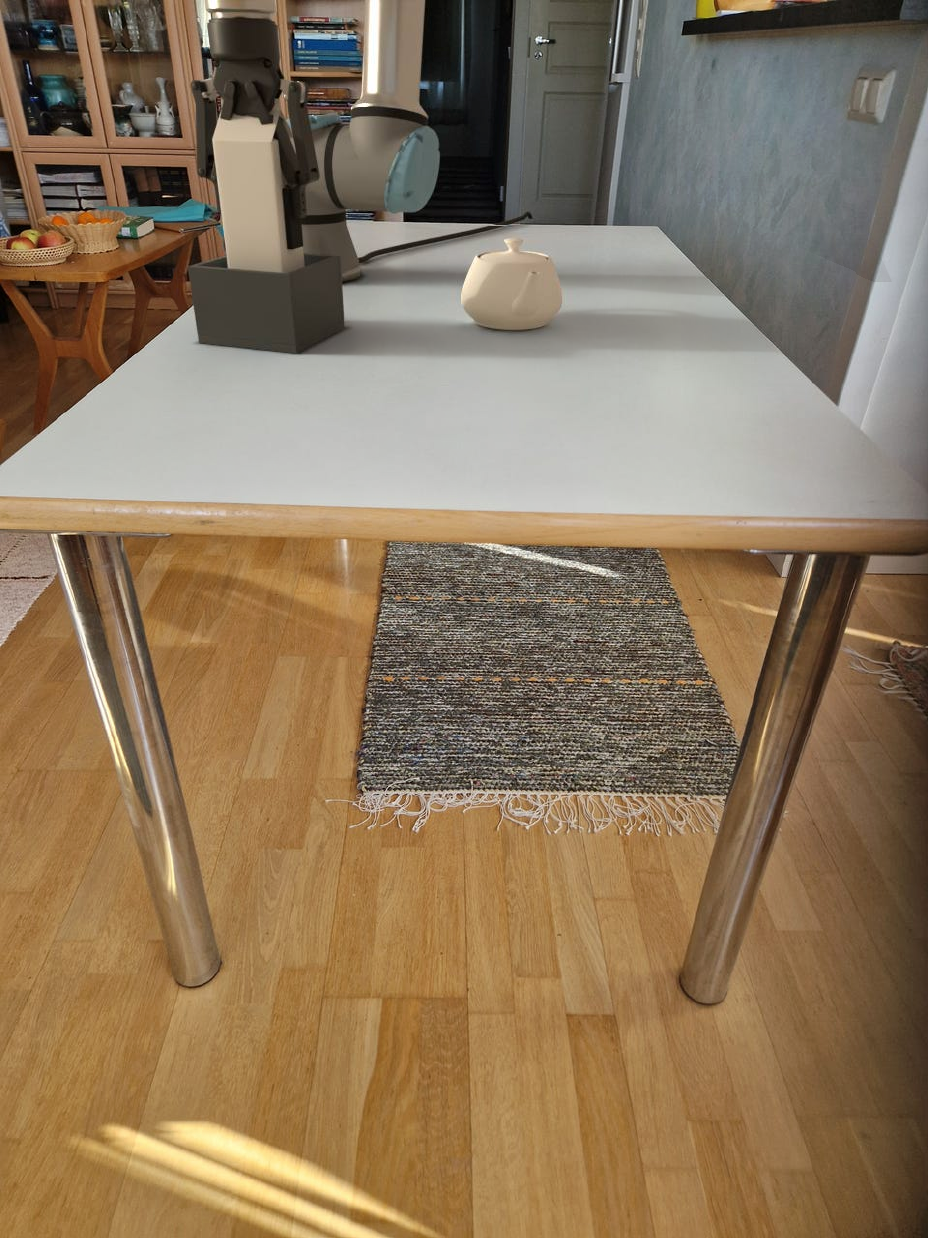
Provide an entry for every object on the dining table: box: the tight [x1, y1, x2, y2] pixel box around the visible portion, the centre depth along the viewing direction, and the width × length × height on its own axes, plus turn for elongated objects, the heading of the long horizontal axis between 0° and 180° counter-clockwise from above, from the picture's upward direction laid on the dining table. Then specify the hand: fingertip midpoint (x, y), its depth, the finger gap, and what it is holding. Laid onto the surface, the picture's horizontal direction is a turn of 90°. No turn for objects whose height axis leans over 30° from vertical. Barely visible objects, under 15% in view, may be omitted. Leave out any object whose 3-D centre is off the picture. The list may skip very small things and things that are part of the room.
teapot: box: [460, 237, 563, 331], centre depth 115 cm, size 22×14×11 cm, turn 12°
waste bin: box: [187, 253, 346, 355], centre depth 108 cm, size 14×14×9 cm
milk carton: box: [212, 97, 305, 273], centre depth 102 cm, size 7×7×19 cm
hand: (265, 244), depth 105 cm, fingers closed on milk carton, 7 cm apart
